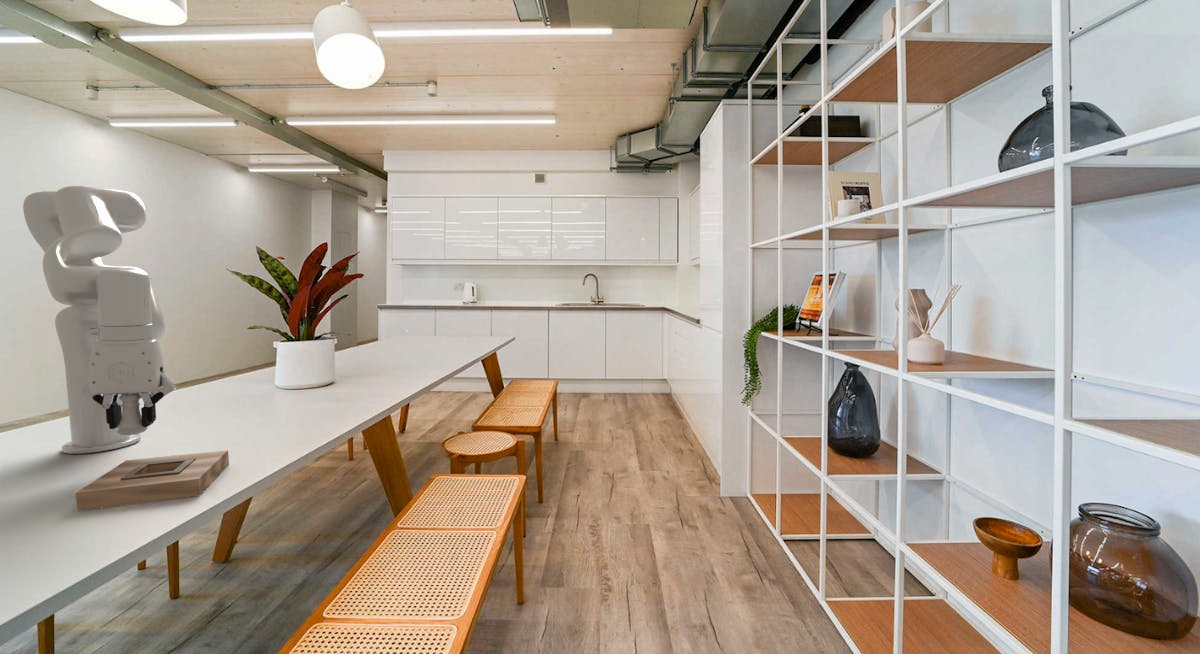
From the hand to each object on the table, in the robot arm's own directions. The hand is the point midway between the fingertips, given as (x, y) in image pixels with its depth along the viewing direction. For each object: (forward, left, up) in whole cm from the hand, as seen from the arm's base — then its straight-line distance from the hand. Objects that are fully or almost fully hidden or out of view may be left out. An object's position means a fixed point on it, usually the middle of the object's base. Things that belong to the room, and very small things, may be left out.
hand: (132, 425), depth 99 cm
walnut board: (+13, +9, -9) cm, 18 cm away
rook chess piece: (0, 0, -2) cm, 2 cm away
